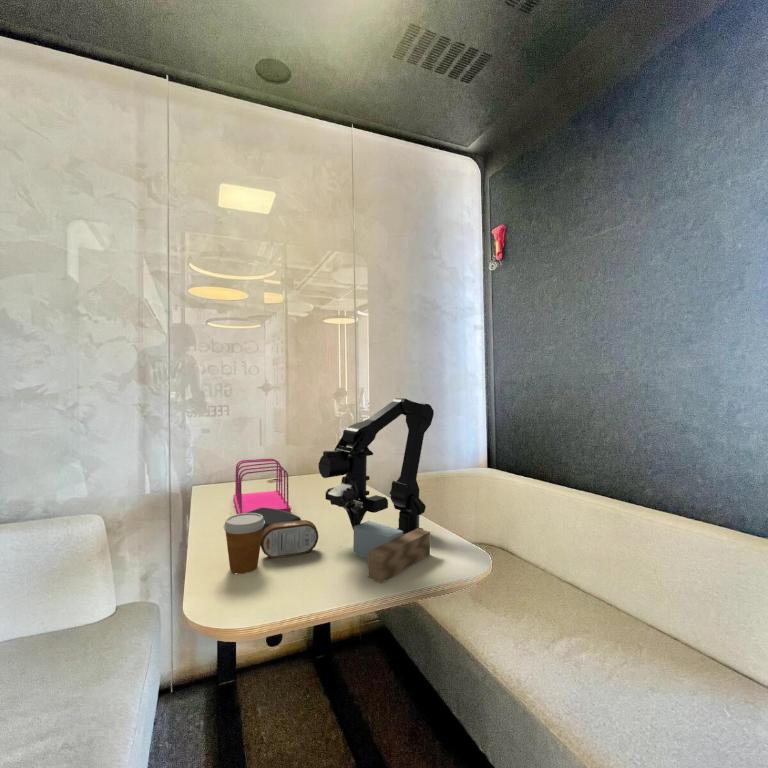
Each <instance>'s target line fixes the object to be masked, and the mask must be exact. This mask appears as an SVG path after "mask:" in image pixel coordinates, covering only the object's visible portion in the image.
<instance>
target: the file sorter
mask: <svg viewBox="0 0 768 768" xmlns="http://www.w3.org/2000/svg"><path fill="white" fill-rule="evenodd" d="M248 463H251V464H248ZM243 464H245V465H243ZM267 465H268V466H267ZM269 465H270V466H269ZM254 466H255V467H254ZM256 466H259V467H256ZM241 469H242V470H241ZM259 469H262V470H259ZM240 470H241V471H240ZM251 470H253V471H251ZM239 471H240V472H239ZM245 471H246V472H245ZM274 471H275V472H276V477H275V478H276V479H275V480H276V484H275V485H276V486H275V490H272V491H271V490H268V491H260V492H259V491H258V492H247V493H242V481H243V477H244V476H246V475H247V474H256V473H264V472H274ZM232 496H233V499H232V500H233V502H234V503H233V504H234V506H235V510H236V514H242V513H247V512H250V511H253V510H256V509H259V508H262V507H264V508H272V509H278V510H282V511H286V512H289V513H291V510H292V508H291V506H290V505H289V474H288V471H287V470H286V469H285V468H284V467H283V466H282V465H281V463H280V461H278V460H277V459H275V458H272V457H271V458H256V459H242V460H240V461H238V462H237V463H236V465H235V494H233V495H232Z"/></svg>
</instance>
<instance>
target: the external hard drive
mask: <svg viewBox="0 0 768 768" xmlns="http://www.w3.org/2000/svg"><path fill="white" fill-rule="evenodd" d="M247 513H257V514H261V515H262V516H263V519H264V521H265V524H264V526H263V530H262V532H263V531H264V529H265V528H267V527H268V526H269V525H271V524H274V523H282V522H291V521H300V520H302V519H301V517H300V516H299V515H296V514H294V513H291V512H286V511H282V510H278V509H272V508H264V507H262V508H259V509H256V510H253V511H250V512H247Z"/></svg>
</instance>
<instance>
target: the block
mask: <svg viewBox="0 0 768 768" xmlns="http://www.w3.org/2000/svg"><path fill="white" fill-rule="evenodd" d="M402 535H404V534H403V531H401V530H398V529H397V528H395V527H391V526H387V525H384V524H381V523H378V522H374V521H372V520H366V521H365V522H364V521H363V522H361V524H359V525H356V526H354V530H353V553H354V554H357V555H359V556H361V557H364V558H367V559H368V552H369V551H371V550H373V549H375V548H377V547H379V546H381V545H383V544H385V543H388V542H390V541H392V540H394V539H396V538H398V537H400V536H402Z"/></svg>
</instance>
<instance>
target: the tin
mask: <svg viewBox="0 0 768 768" xmlns="http://www.w3.org/2000/svg"><path fill="white" fill-rule="evenodd" d="M318 541H319V531H318V529H317V527H316V525H315V524H314V523H313V522H312V521H310V520H307V519H305V520H304V519H301V520H300V521H291V522H282V523H274V524H271V525H269V526H268V527H267V528H265V529H264V531H263V532H262V538H261V545H260V550H262V552H263V554H264V555H265V556H267V557H269V558H272V559H273V558H274V559H276V558H277V559H278V558H283V557H291V556H298V555H304V554H307V553H309V552H311V551H312V550H314V548H315V547H316V546H317V543H318Z"/></svg>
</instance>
